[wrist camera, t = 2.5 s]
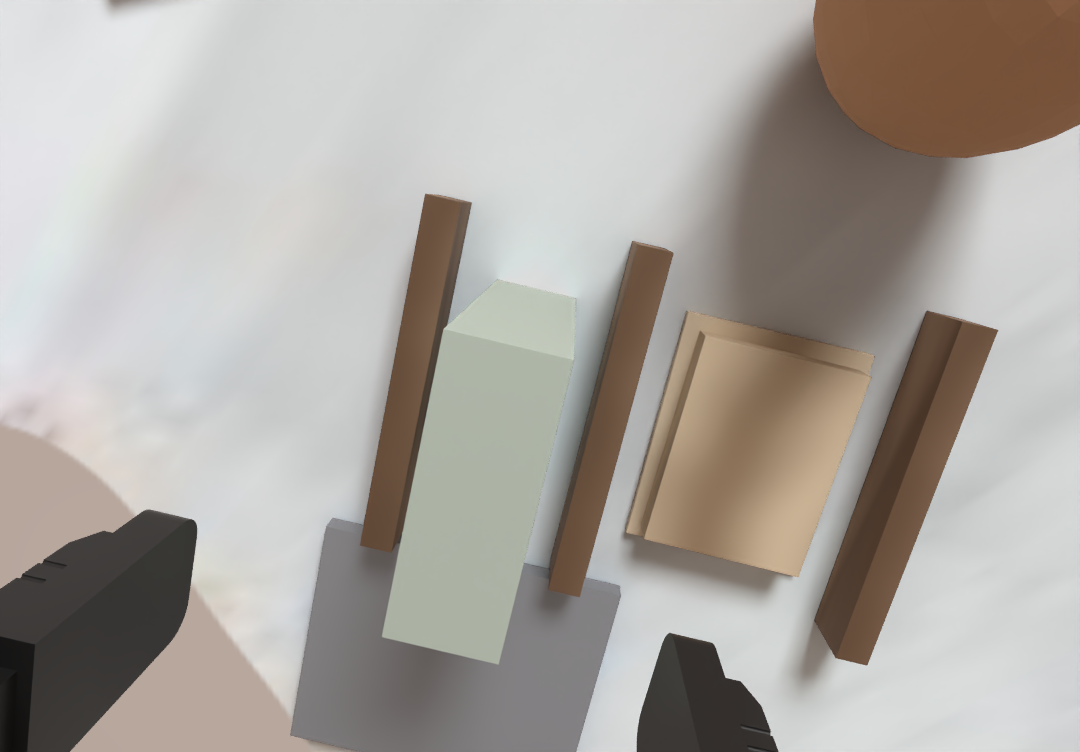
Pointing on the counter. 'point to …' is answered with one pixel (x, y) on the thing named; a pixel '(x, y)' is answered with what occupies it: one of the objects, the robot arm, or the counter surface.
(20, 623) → the robot arm
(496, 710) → the rubber mat
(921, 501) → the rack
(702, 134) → the counter surface
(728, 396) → the upper offcut
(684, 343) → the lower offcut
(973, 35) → the egg
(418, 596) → the pale green block
